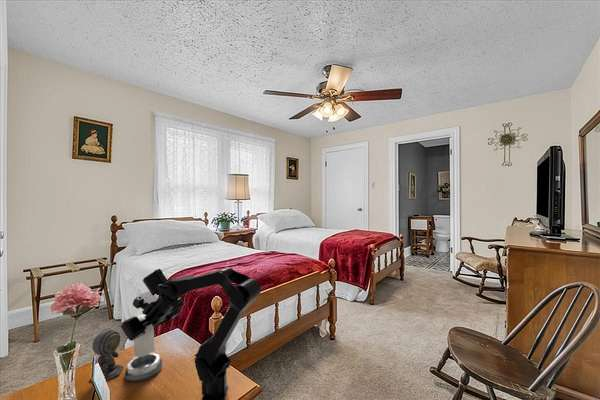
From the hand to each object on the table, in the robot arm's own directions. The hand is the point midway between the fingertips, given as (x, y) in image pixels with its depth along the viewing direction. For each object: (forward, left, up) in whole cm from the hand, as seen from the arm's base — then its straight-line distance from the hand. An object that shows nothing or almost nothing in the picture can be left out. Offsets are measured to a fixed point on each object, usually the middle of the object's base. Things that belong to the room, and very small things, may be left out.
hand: (141, 332), depth 94 cm
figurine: (+11, +1, -13) cm, 17 cm away
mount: (-1, +1, -13) cm, 13 cm away
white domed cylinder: (-1, +1, -7) cm, 7 cm away
